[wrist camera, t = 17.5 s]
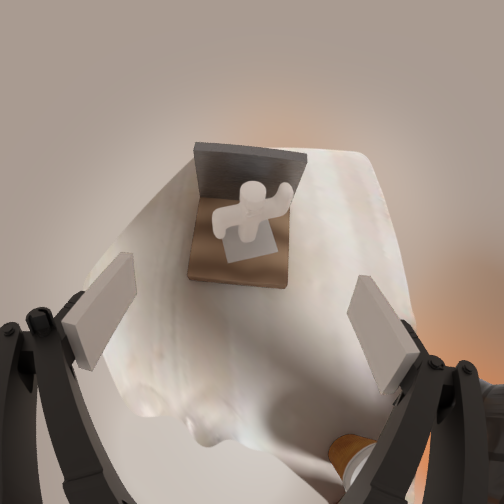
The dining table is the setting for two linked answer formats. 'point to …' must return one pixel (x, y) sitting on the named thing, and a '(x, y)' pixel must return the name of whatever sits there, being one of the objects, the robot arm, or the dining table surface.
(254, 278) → the walnut shelf board
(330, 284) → the dining table surface
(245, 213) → the figurine
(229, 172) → the grey metal bookend
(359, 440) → the disposable coffee cup
